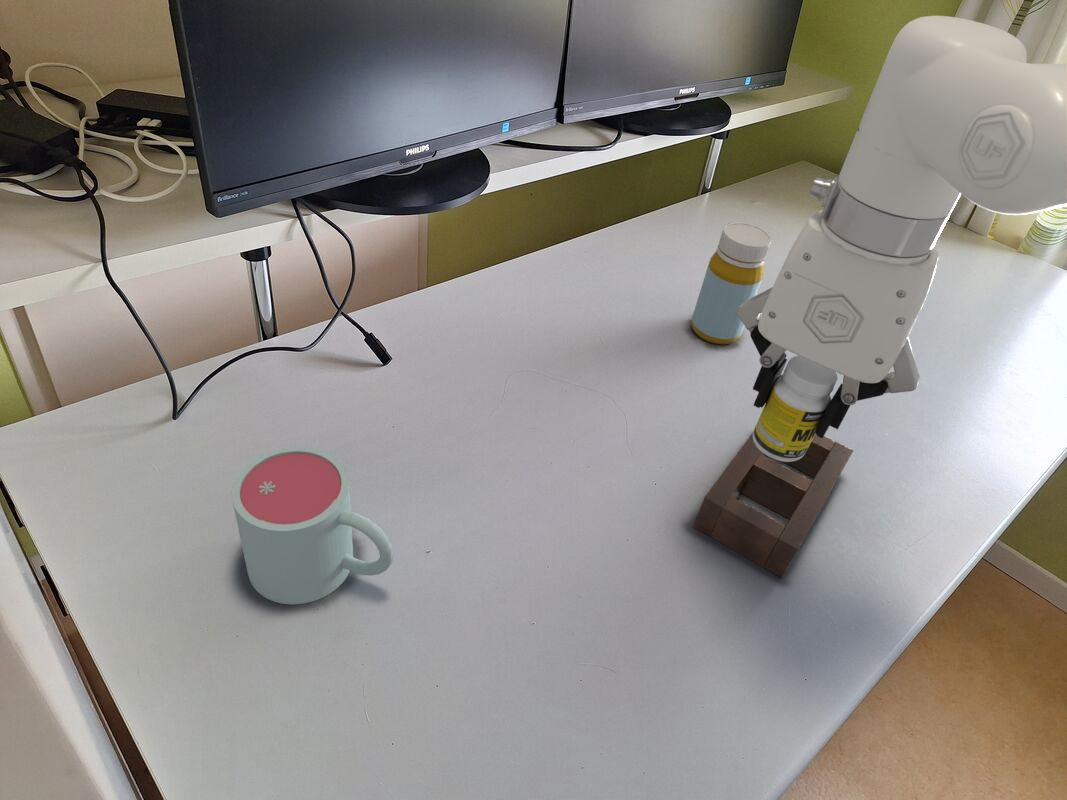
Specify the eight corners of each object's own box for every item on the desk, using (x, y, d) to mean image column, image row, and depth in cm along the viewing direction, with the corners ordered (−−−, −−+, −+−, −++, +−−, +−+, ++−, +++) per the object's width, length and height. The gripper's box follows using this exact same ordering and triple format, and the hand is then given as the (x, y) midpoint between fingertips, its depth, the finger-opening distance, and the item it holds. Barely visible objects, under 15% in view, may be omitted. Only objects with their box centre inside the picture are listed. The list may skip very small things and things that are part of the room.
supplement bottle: (784, 471, 64) (820, 396, 58) (740, 438, 66) (771, 363, 61) (816, 449, 67) (853, 375, 61) (773, 418, 69) (805, 344, 64)
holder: (838, 478, 85) (853, 449, 82) (782, 578, 74) (798, 549, 71) (757, 437, 89) (770, 408, 86) (692, 526, 77) (704, 497, 75)
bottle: (712, 310, 108) (743, 215, 98) (750, 336, 105) (786, 240, 95) (679, 325, 105) (708, 228, 95) (717, 352, 101) (752, 254, 91)
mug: (225, 582, 66) (206, 507, 60) (286, 508, 73) (275, 433, 67) (366, 638, 64) (363, 566, 57) (415, 556, 71) (417, 484, 64)
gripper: (748, 193, 53) (684, 391, 65) (1003, 287, 47) (880, 487, 59) (785, 162, 58) (719, 351, 70) (1019, 244, 52) (903, 436, 64)
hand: (793, 411), depth 64 cm, fingers closed on supplement bottle, 4 cm apart
